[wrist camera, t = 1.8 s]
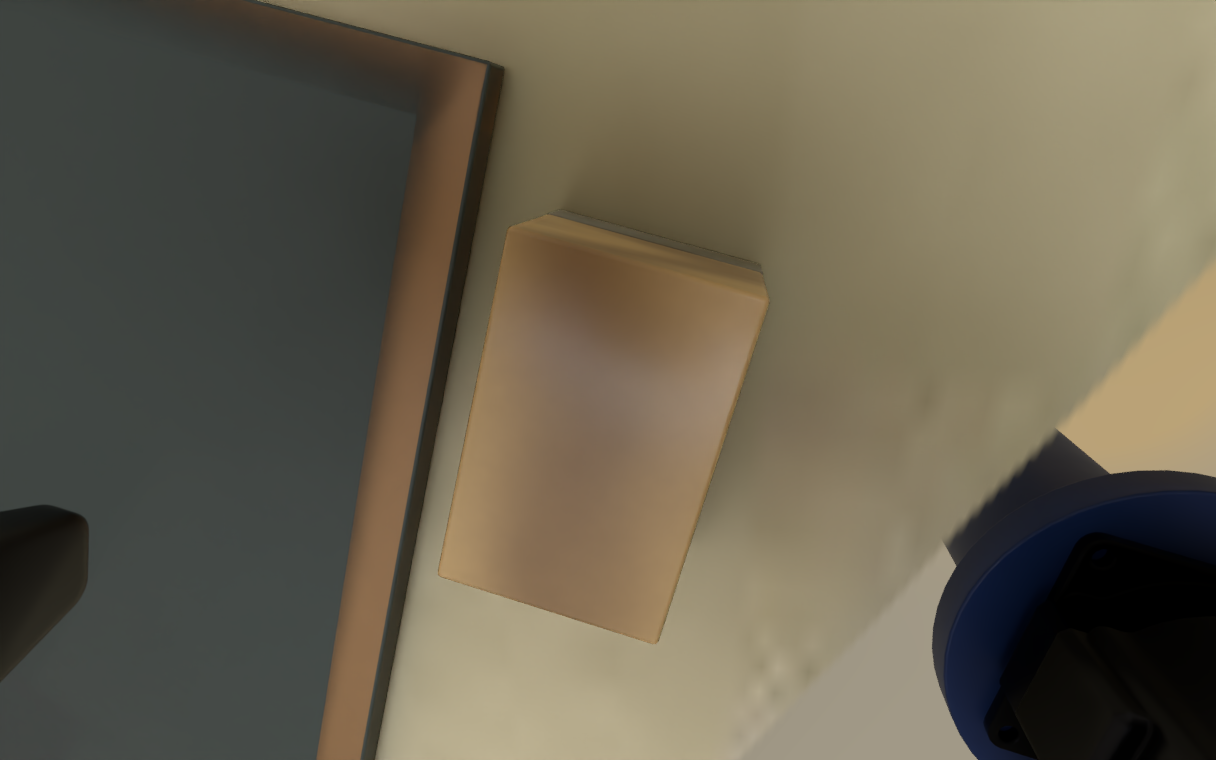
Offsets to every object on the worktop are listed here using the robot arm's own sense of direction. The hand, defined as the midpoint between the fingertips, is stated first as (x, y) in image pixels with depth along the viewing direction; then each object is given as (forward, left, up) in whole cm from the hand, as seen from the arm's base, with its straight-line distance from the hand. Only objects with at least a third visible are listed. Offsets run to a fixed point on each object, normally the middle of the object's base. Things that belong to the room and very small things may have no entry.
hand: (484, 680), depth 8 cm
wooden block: (0, 0, -10) cm, 10 cm away
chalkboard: (+12, +6, -10) cm, 17 cm away
